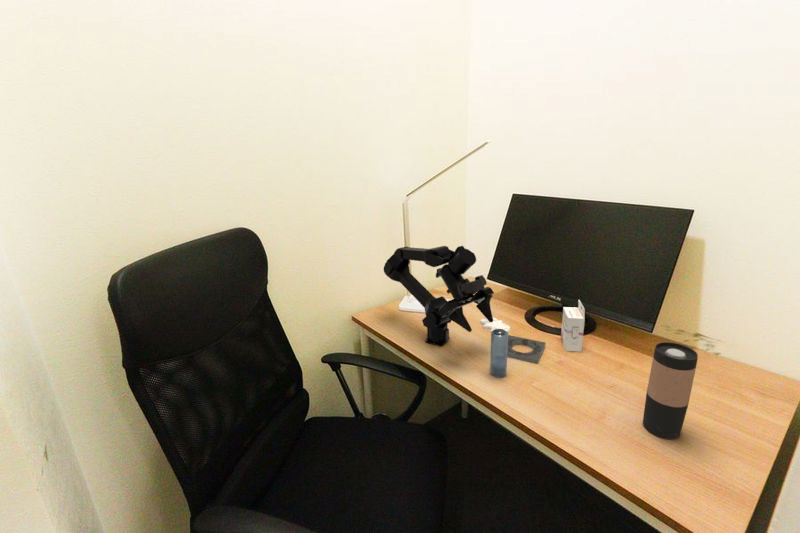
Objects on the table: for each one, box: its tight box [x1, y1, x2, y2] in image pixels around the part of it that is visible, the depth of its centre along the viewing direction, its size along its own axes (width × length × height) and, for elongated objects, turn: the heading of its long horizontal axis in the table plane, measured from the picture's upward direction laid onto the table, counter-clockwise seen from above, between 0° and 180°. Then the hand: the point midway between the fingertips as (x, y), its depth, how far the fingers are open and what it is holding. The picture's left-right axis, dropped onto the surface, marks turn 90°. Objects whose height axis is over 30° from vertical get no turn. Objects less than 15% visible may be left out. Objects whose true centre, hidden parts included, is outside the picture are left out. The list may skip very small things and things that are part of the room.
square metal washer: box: [507, 334, 546, 365], centre depth 121 cm, size 12×12×1 cm
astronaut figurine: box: [479, 317, 511, 334], centre depth 137 cm, size 9×12×3 cm
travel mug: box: [642, 341, 699, 440], centre depth 83 cm, size 8×8×20 cm
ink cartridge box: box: [560, 299, 586, 353], centre depth 121 cm, size 9×5×15 cm, turn 168°
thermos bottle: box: [489, 329, 509, 379], centre depth 107 cm, size 5×5×14 cm
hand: (481, 326), depth 111 cm, fingers open, 9 cm apart
